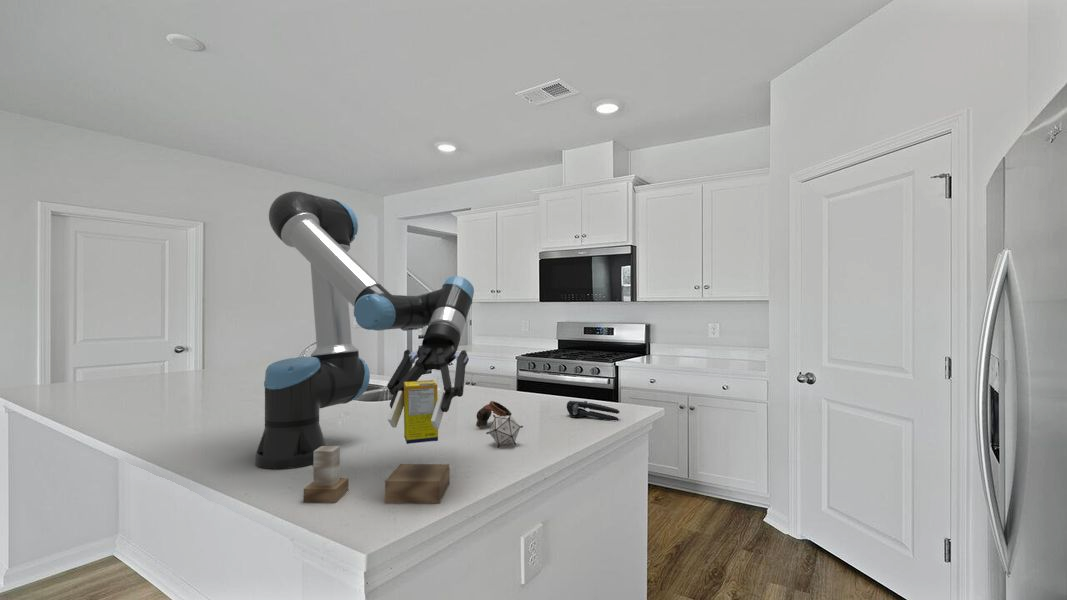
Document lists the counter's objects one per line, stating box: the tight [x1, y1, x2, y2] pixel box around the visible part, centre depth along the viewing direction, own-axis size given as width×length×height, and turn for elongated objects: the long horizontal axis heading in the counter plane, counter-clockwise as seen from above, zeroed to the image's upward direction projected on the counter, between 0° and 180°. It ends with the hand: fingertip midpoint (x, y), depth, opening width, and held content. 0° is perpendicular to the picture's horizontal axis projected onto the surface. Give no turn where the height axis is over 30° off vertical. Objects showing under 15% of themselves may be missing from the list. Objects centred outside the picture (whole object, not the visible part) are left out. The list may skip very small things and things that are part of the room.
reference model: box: [302, 445, 350, 504], centre depth 96 cm, size 6×6×9 cm
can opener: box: [566, 400, 620, 421], centre depth 163 cm, size 18×7×6 cm, turn 64°
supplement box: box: [403, 379, 439, 445], centre depth 98 cm, size 6×6×11 cm
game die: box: [485, 412, 524, 449], centre depth 131 cm, size 9×8×10 cm
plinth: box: [384, 463, 451, 504], centre depth 97 cm, size 10×10×4 cm
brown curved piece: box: [475, 400, 512, 428], centre depth 152 cm, size 12×10×8 cm
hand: (413, 424), depth 94 cm, fingers closed on supplement box, 8 cm apart
